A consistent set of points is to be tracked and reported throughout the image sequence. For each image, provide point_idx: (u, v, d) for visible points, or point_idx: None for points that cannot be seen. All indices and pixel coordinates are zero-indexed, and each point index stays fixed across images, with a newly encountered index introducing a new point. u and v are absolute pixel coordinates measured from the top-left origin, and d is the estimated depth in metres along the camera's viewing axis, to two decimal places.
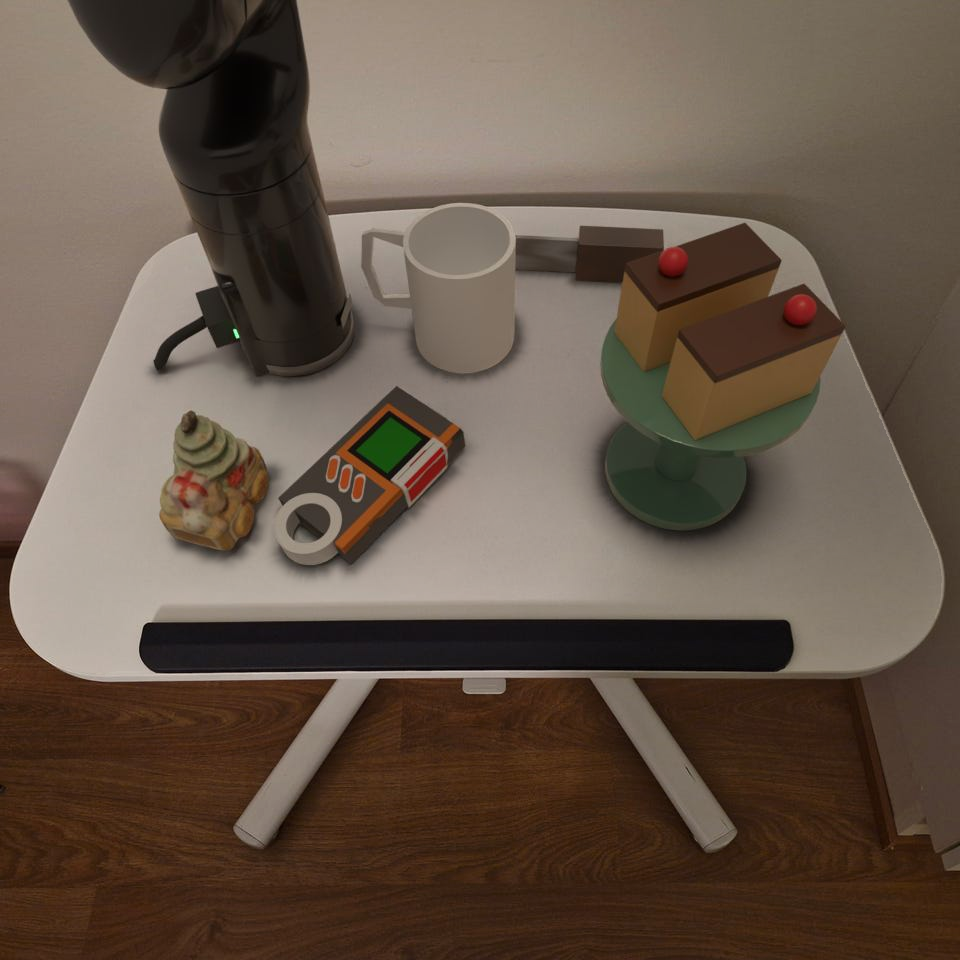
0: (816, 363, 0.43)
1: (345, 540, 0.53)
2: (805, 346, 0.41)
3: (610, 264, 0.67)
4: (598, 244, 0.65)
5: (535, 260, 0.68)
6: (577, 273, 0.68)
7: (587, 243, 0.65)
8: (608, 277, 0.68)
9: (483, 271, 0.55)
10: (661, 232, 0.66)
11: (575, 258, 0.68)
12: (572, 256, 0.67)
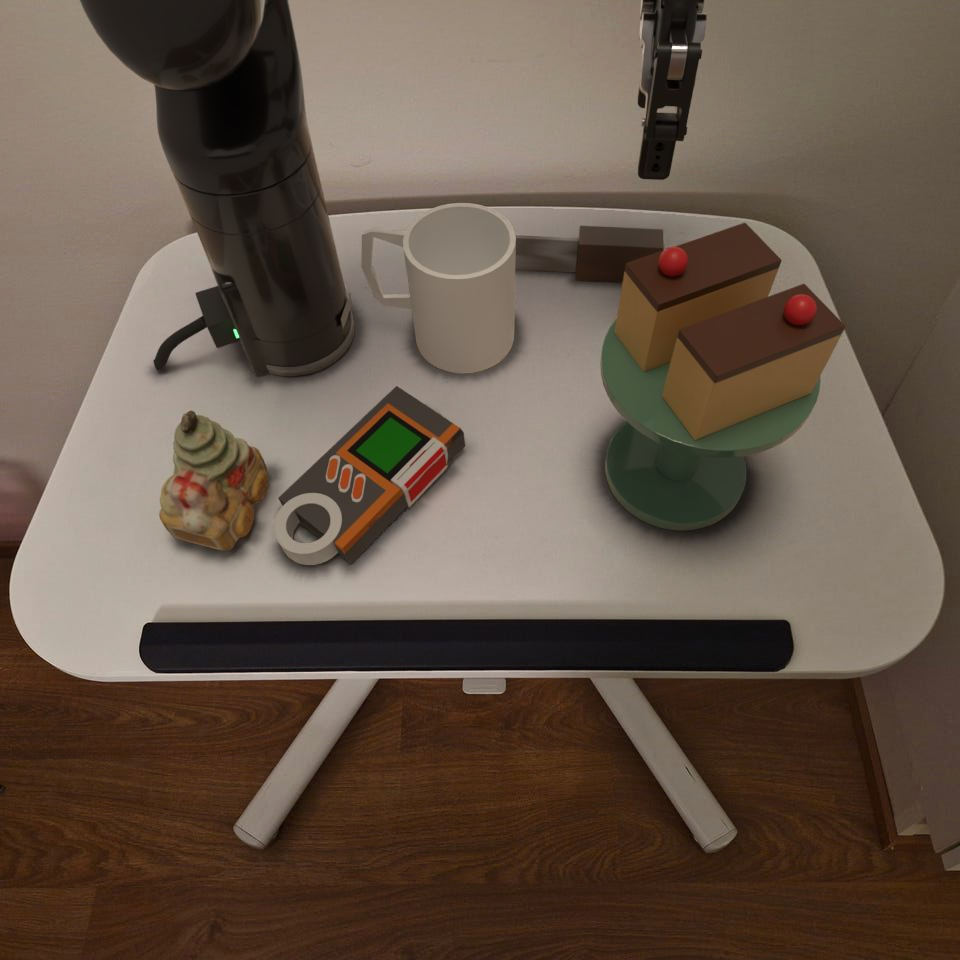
0: (816, 363, 0.43)
1: (345, 540, 0.53)
2: (805, 346, 0.41)
3: (610, 264, 0.67)
4: (598, 244, 0.65)
5: (535, 260, 0.68)
6: (577, 273, 0.68)
7: (587, 243, 0.65)
8: (608, 277, 0.68)
9: (483, 271, 0.55)
10: (661, 232, 0.66)
11: (575, 258, 0.68)
12: (572, 256, 0.67)
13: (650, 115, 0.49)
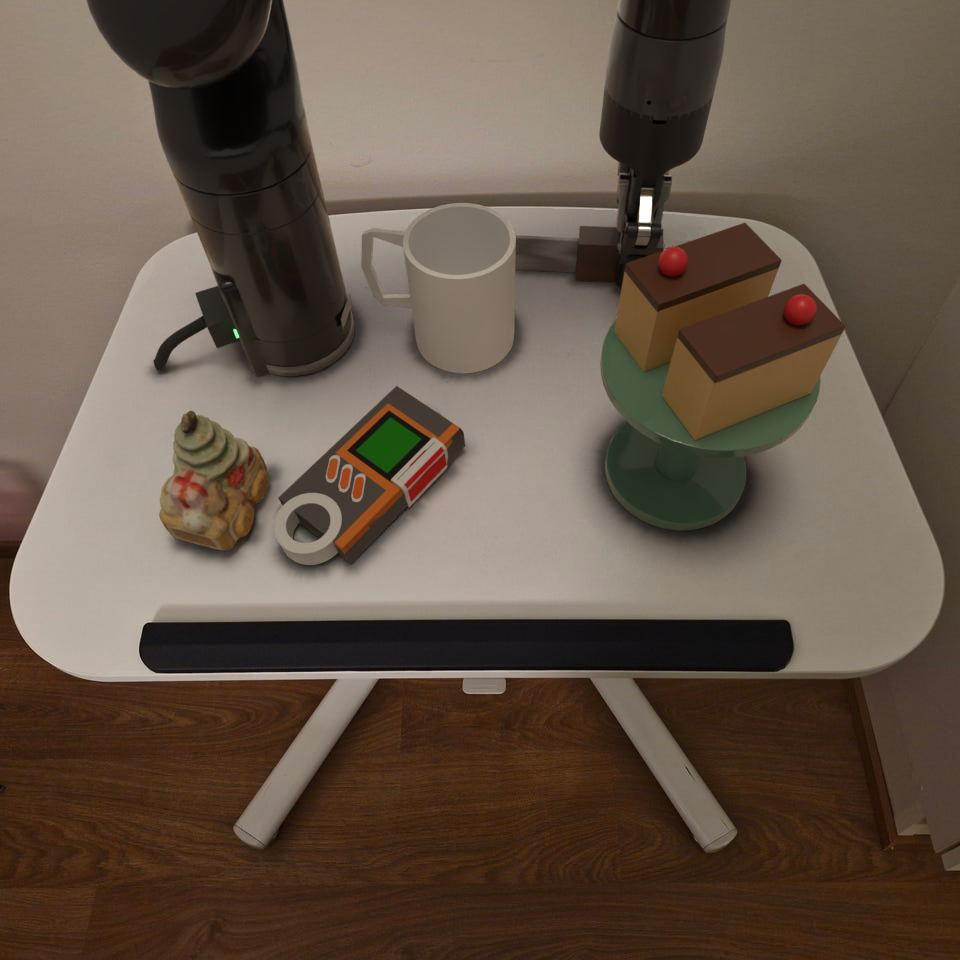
0: (816, 363, 0.43)
1: (345, 540, 0.52)
2: (805, 346, 0.41)
3: (610, 265, 0.67)
4: (598, 244, 0.65)
5: (535, 260, 0.68)
6: (577, 273, 0.68)
7: (587, 243, 0.65)
8: (608, 277, 0.68)
9: (483, 271, 0.55)
10: None
11: (575, 258, 0.68)
12: (572, 256, 0.67)
13: (622, 257, 0.61)
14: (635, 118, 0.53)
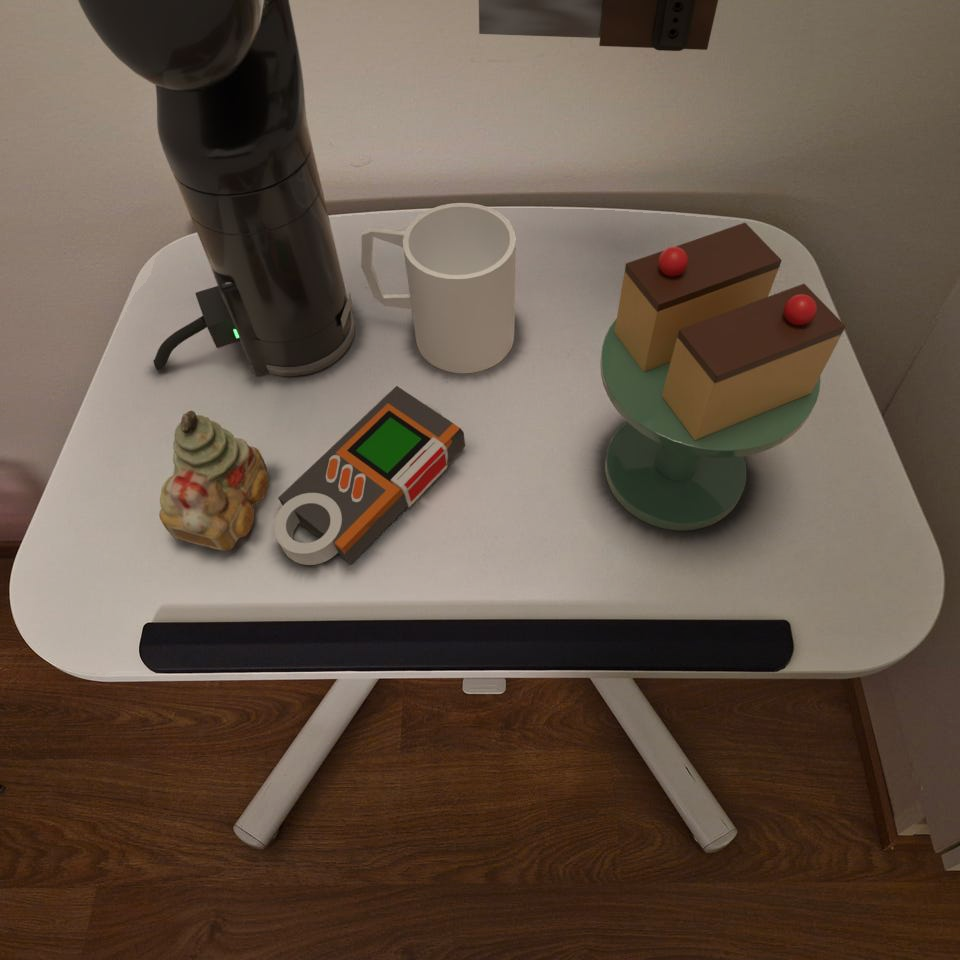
0: (816, 363, 0.43)
1: (345, 540, 0.53)
2: (805, 346, 0.41)
3: (648, 16, 0.49)
4: None
5: (546, 18, 0.51)
6: (602, 33, 0.51)
7: None
8: (643, 38, 0.51)
9: (483, 271, 0.55)
10: None
11: (599, 13, 0.51)
12: (596, 9, 0.50)
13: None
14: None
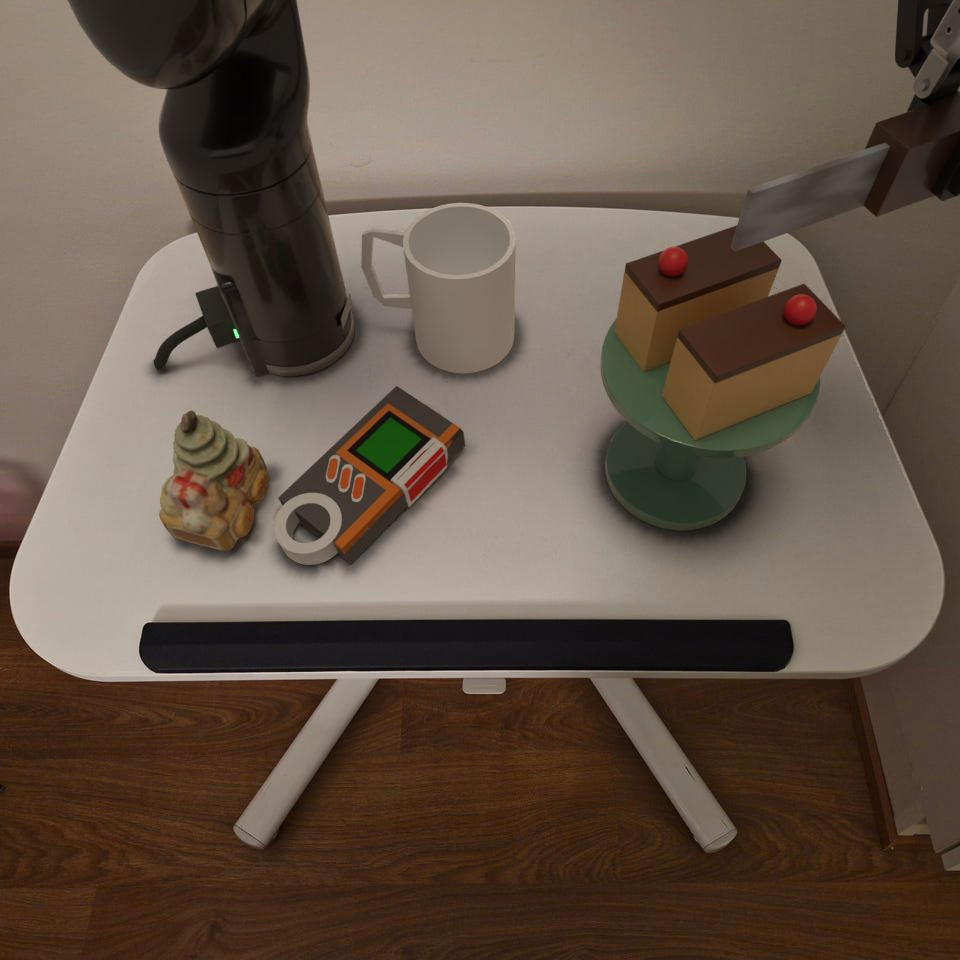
0: (816, 363, 0.43)
1: (345, 540, 0.53)
2: (805, 346, 0.41)
3: (937, 169, 0.40)
4: (934, 138, 0.38)
5: (814, 207, 0.39)
6: (884, 203, 0.40)
7: (919, 143, 0.37)
8: (924, 192, 0.41)
9: (483, 271, 0.55)
10: None
11: (872, 180, 0.40)
12: (870, 178, 0.40)
13: None
14: None
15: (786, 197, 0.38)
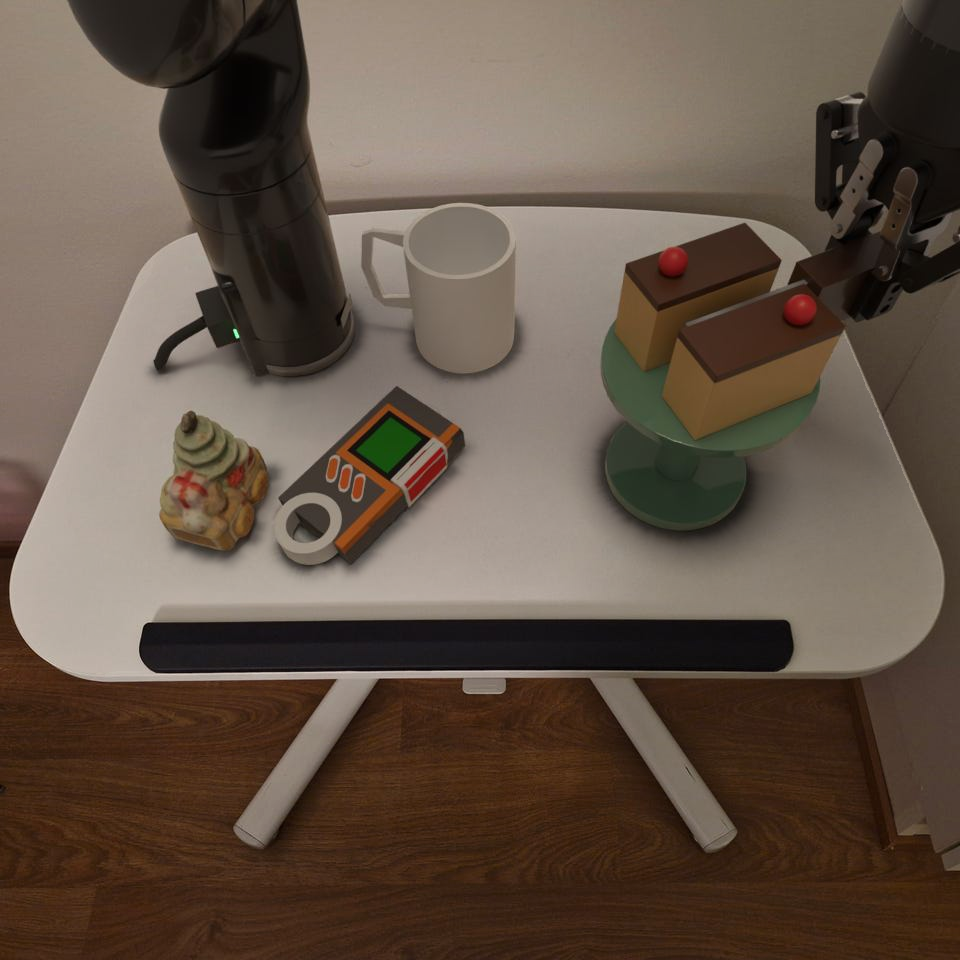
0: (816, 363, 0.43)
1: (345, 540, 0.52)
2: (805, 346, 0.41)
3: (850, 298, 0.46)
4: (844, 277, 0.44)
5: None
6: None
7: (831, 282, 0.44)
8: (841, 315, 0.47)
9: (483, 271, 0.55)
10: None
11: None
12: None
13: (932, 283, 0.41)
14: None
15: None
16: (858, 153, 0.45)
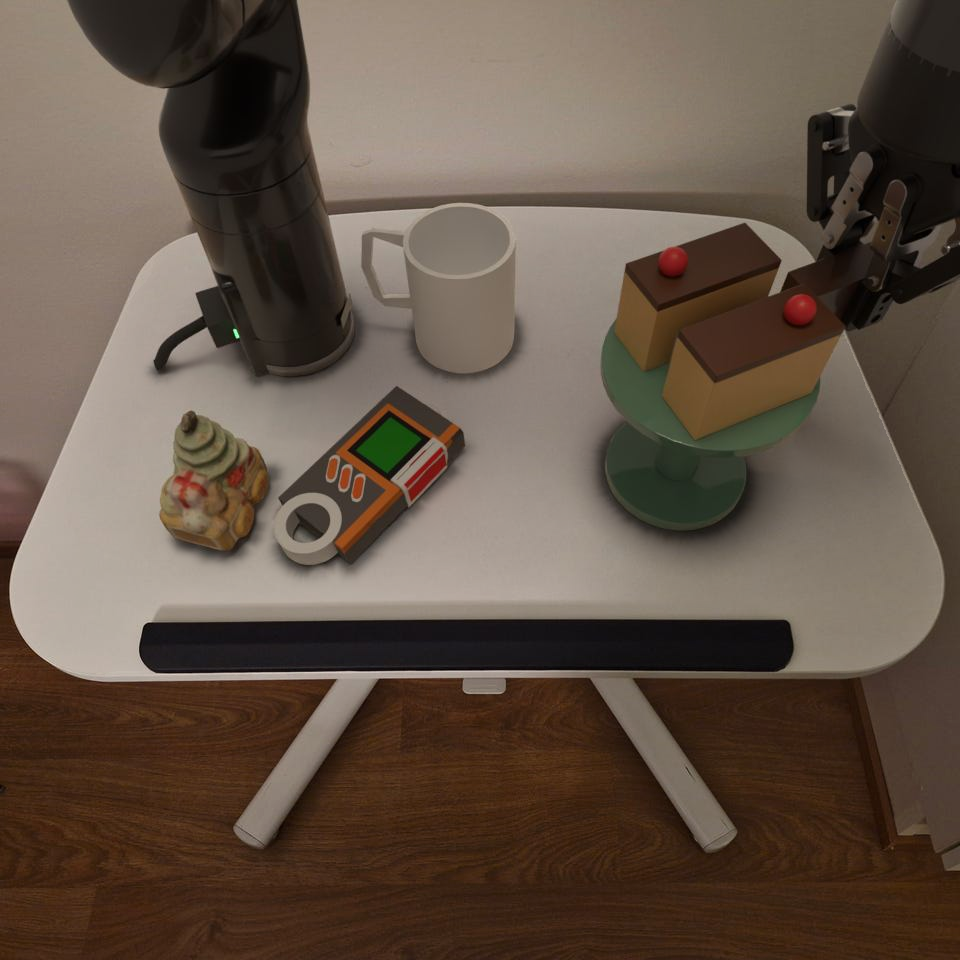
0: (816, 363, 0.43)
1: (345, 540, 0.53)
2: (805, 346, 0.41)
3: (842, 308, 0.47)
4: (835, 287, 0.45)
5: None
6: None
7: (822, 292, 0.44)
8: None
9: (483, 271, 0.55)
10: None
11: None
12: None
13: (921, 294, 0.41)
14: None
15: None
16: (849, 164, 0.45)
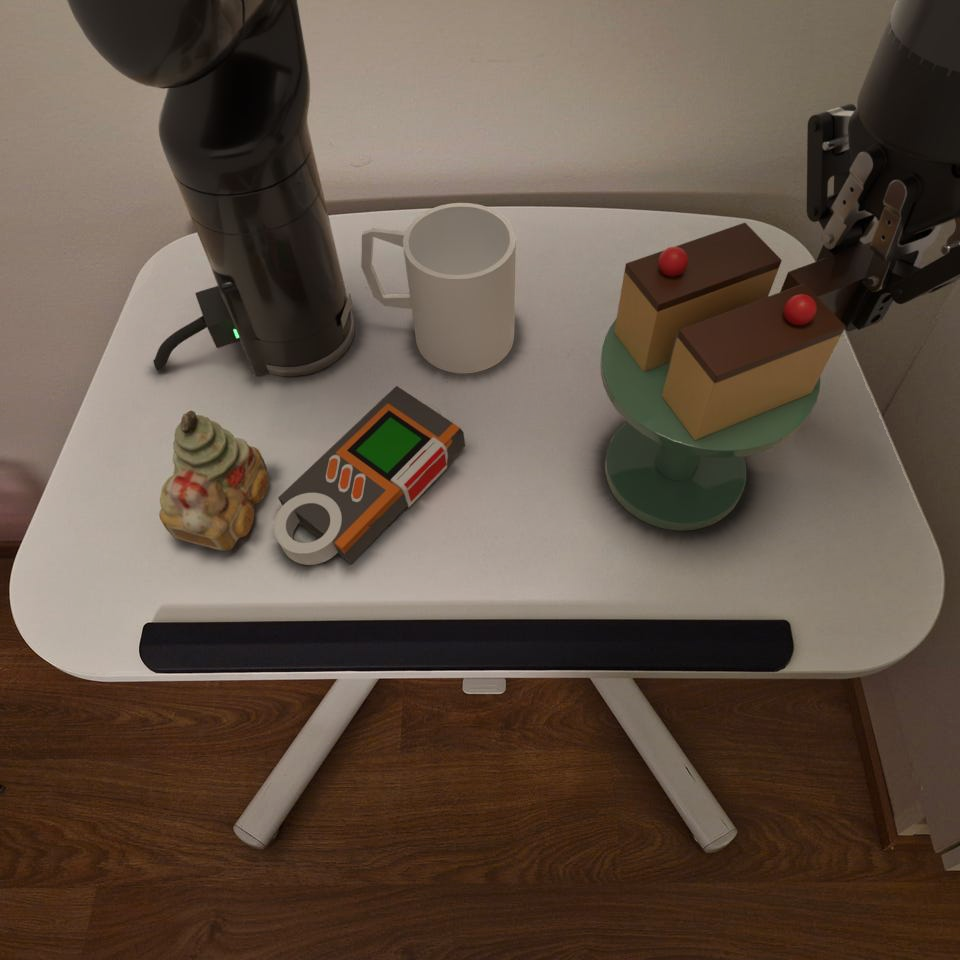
0: (816, 363, 0.43)
1: (345, 540, 0.53)
2: (805, 346, 0.41)
3: (842, 308, 0.47)
4: (835, 287, 0.45)
5: None
6: None
7: (822, 292, 0.44)
8: None
9: (483, 271, 0.55)
10: None
11: None
12: None
13: (921, 294, 0.41)
14: None
15: None
16: (849, 164, 0.45)
